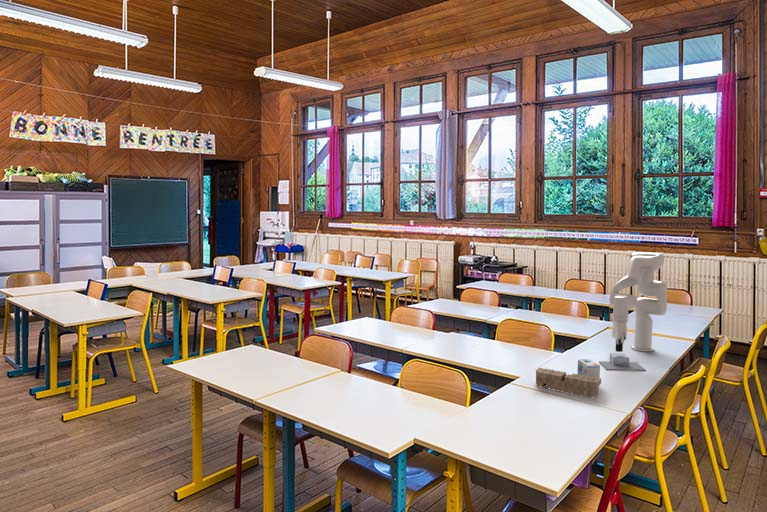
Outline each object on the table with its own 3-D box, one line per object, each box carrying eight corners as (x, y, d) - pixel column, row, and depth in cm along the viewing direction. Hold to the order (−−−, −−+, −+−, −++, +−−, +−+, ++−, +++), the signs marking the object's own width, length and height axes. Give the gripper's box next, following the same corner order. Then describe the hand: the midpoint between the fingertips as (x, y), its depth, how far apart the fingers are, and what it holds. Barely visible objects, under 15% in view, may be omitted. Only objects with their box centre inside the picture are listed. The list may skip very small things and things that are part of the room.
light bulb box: (576, 380, 267) (577, 359, 266) (589, 379, 268) (590, 358, 267) (586, 387, 257) (587, 365, 256) (599, 386, 257) (600, 365, 256)
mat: (598, 362, 298) (598, 361, 297) (636, 363, 296) (636, 362, 296) (606, 369, 284) (606, 368, 284) (645, 371, 282) (645, 369, 282)
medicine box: (624, 353, 297) (629, 357, 288) (623, 361, 297) (629, 365, 289) (609, 353, 298) (614, 357, 289) (609, 361, 298) (614, 365, 290)
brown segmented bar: (533, 388, 258) (596, 399, 241) (533, 371, 258) (596, 381, 240) (539, 383, 265) (601, 394, 247) (539, 367, 264) (601, 376, 247)
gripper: (608, 315, 300) (607, 347, 302) (617, 321, 285) (616, 354, 287) (622, 315, 299) (621, 347, 301) (632, 321, 285) (631, 355, 286)
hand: (619, 351), depth 294 cm, fingers closed
